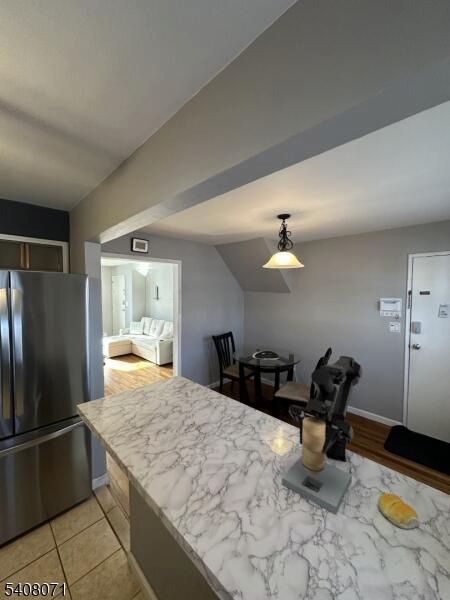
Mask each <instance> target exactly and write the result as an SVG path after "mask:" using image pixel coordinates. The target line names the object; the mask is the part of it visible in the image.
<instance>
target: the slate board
mask: <svg viewBox="0 0 450 600" xmlns="http://www.w3.org/2000/svg"><path fill="white" fill-rule="evenodd" d="M352 475H353V474H351V473H348V472H346V471H344V470H341V469H339V468H337V467H335V466H332V465H331V464H328V463H327V462H324V470H323V471H322V472H319V474H318V475H311V474H309V473H308V472H307V470H306V469H305V468H304V467H303V465H302V455H301V456H300V457H299V458H298V459H297V461H295V462H294V463H293V465H292V466H291V467H290V468H289V470H287V472H286V473H285V474H284V475H283V476H282V478H281V485H283V486H285V487H286V488H288V489H289V490H291V491H293V492H295V493H297V494H299V495H300V496H302V497H304V498H305V499H307V500H309V501H311V502H312V503H315V504H316V505H318V506H320V507H322V508H324V509H325V510H327V511H329V512H330V513H333V514H334V515H337V513H338V510H339V509H340V507H341V504H342V502H343V500H344V498H345V496H346V493H347V491H348V490H349V487H350V485H351V484H352V481H353V476H352ZM307 483H309V484H311V485H313V486H315V487H317V488H319V490H318V492H316V491H315V490H313V489H311V488H309V487H307V486H306V484H307Z"/></svg>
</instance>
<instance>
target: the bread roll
mask: <svg viewBox="0 0 450 600" xmlns="http://www.w3.org/2000/svg"><path fill="white" fill-rule="evenodd" d="M377 502H378V503H377V505H378V509H379V512H380V513H381V514H382V516H384V517H385V518H386V519H387V520H388V521H389V522H390V523H392V524H393V525H395V527H399V528H401V529H404V530H411V529H415V528H417V527H418V526H419V523H420V522H419V516H418V514H417V512H416V510H415V509H414V508H413V507H411V506H410V505H409V504H408V503H405V502H404V500H403V499H401V498H400V497H399V496H397V495H396V494H393V493H383V494H381V495H380V496H379V497H378V500H377Z"/></svg>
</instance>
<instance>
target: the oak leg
mask: <svg viewBox="0 0 450 600" xmlns="http://www.w3.org/2000/svg"><path fill="white" fill-rule="evenodd" d="M325 426H326V424H325V422H324V421H322V420H321V419H318V418H315V417H306V418H304V419H303V435H302V444H301V456H302V465H303V467H304V468H305V469H306V470H307V472H308V473H309V474H311V475H318V474H319V472H322V471H323V470H324V463H325V454H323V453H322V451H323V446H324V443H325V438H326V437H325Z"/></svg>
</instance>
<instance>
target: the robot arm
mask: <svg viewBox="0 0 450 600" xmlns="http://www.w3.org/2000/svg"><path fill="white" fill-rule="evenodd" d="M362 376H363V370H362V365H360V364H359V363H358V362H356V361H355V358H353V357H352V356H346V355H340V356H339V359H338V360H336V361H335V362H334V363H333V364H325V365H320V368H318V369H315V370H314V371H312V373H311V376H310V377H311V380H312V383H313V384H314V387H315V389H316V390H317V394H316V396H315V397H314V398H310V397H309V398H308V399H307V405H306V409H307V410H308V412H306V411H305V410H304V408H303V407H301V406H299V405H295V404H292V405H290V406H289V409H288V413H289V415H290V416H291V417H292V419H293V420H296V421H297V422H298V427H299V444H300V445H302V435H303V419H304V418H306V417H315V418H318V419H321V420H322V421H324V422H325V424H326V426H325V443H324V446H323V451H322V453H323V454H324V455H325V454H326V458H327V459H331V460H335V461H336V460H337V461H341V462H347V458H346V446H347V445H349V444H350V445H351V440H353V438H354V429H353V426H352V424H351V423H350V422H349V421H347V420H346V414H347V411H348V406H349V402H350V400H351V395H352V390H353V387H355V386H356V385H358V384H359V381H360V380H361V378H362ZM336 385H337V386H339V388H337V386H336ZM309 412H310V413H309Z"/></svg>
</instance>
